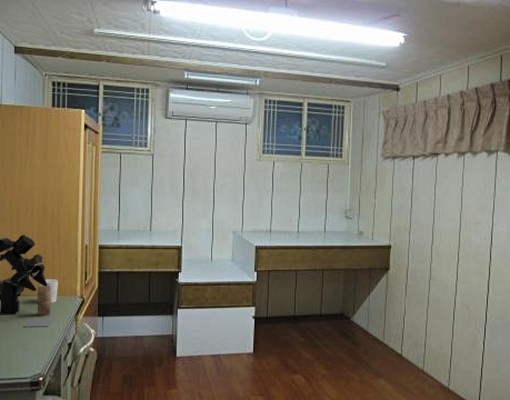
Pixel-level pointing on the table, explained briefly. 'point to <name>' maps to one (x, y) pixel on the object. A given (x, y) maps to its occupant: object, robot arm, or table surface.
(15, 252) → the robot arm
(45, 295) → the walnut cylinder
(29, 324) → the slate mat
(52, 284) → the white cup
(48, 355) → the table surface
